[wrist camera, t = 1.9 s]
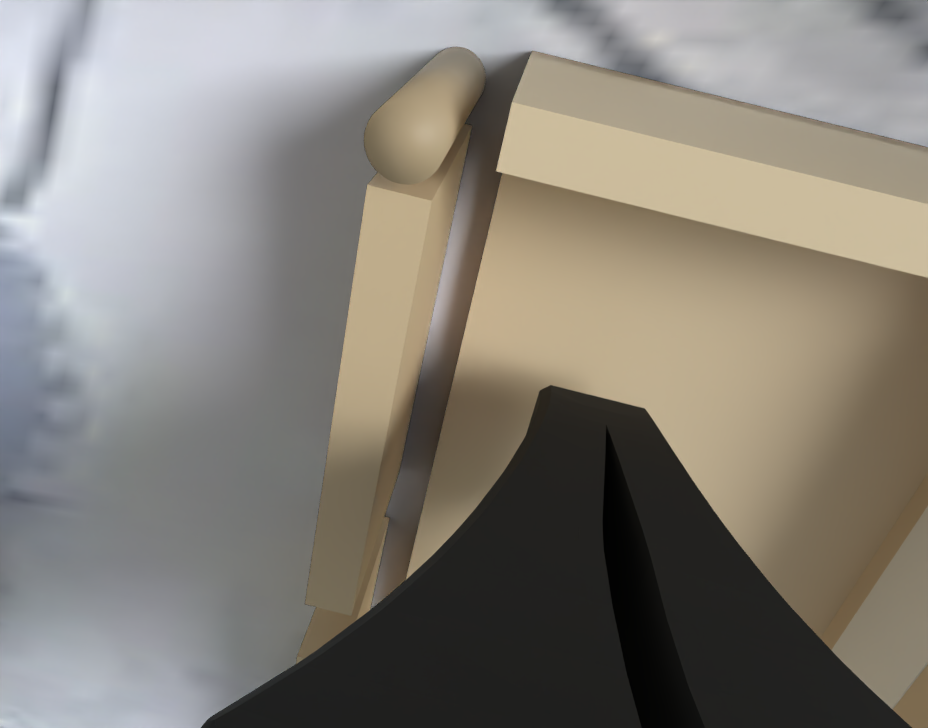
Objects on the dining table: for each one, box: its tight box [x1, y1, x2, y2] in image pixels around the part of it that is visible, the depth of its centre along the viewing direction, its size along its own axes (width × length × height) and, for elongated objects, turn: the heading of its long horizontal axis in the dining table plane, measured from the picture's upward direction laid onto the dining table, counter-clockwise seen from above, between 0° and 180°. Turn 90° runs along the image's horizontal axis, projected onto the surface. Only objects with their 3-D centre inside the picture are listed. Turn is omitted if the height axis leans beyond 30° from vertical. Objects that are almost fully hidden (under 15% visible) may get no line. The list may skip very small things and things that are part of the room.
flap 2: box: [305, 47, 486, 616], centre depth 9 cm, size 6×1×3 cm, turn 168°
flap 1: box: [296, 517, 389, 664], centre depth 13 cm, size 6×1×3 cm, turn 168°
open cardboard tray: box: [406, 51, 928, 728], centre depth 11 cm, size 14×7×3 cm, turn 168°
